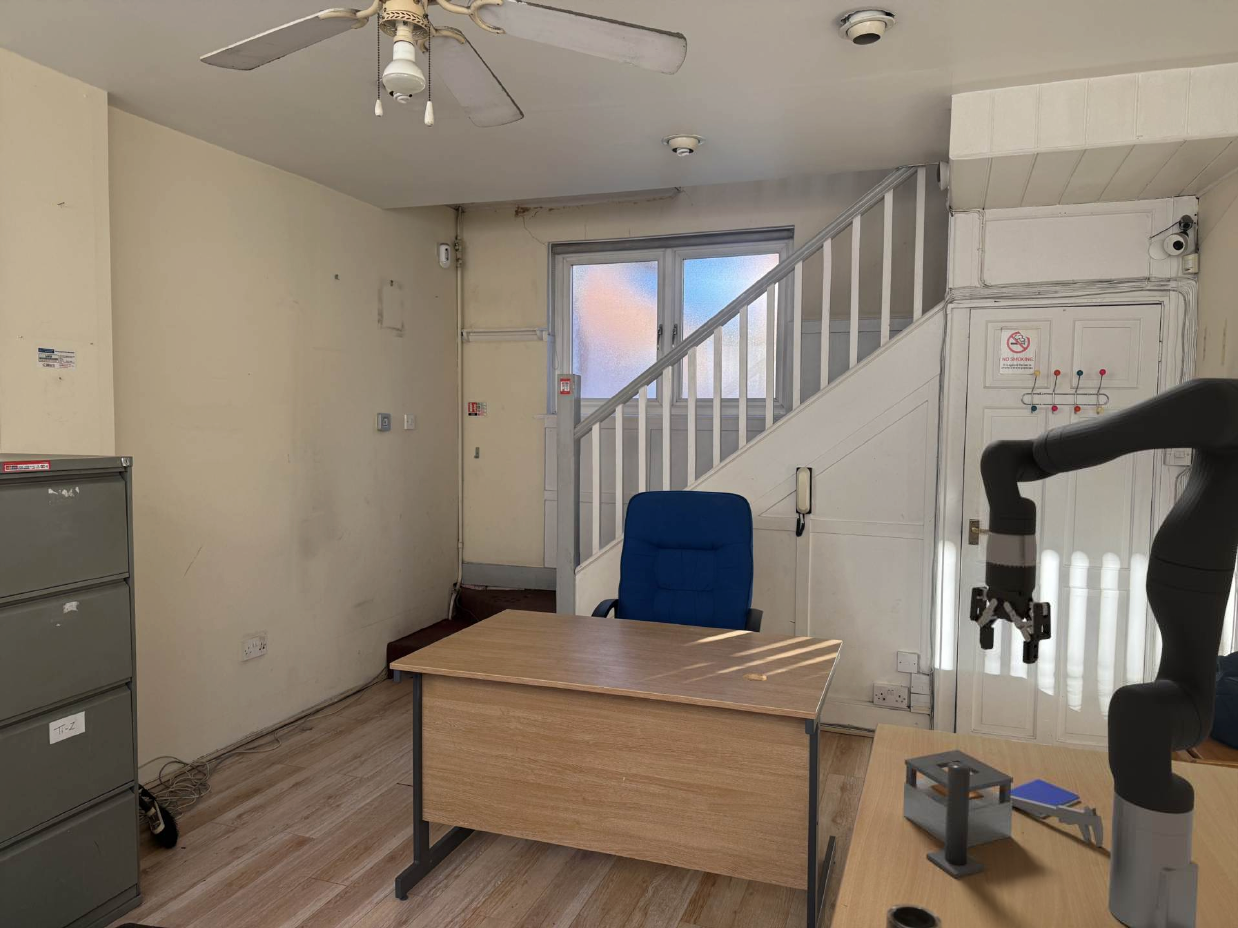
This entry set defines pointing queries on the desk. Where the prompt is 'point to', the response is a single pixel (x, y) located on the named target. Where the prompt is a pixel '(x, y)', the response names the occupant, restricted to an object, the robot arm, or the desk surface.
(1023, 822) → the desk surface
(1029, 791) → the hard drive
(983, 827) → the grey boxy frame
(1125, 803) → the robot arm
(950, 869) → the pad
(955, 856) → the handle
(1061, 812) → the caliper
